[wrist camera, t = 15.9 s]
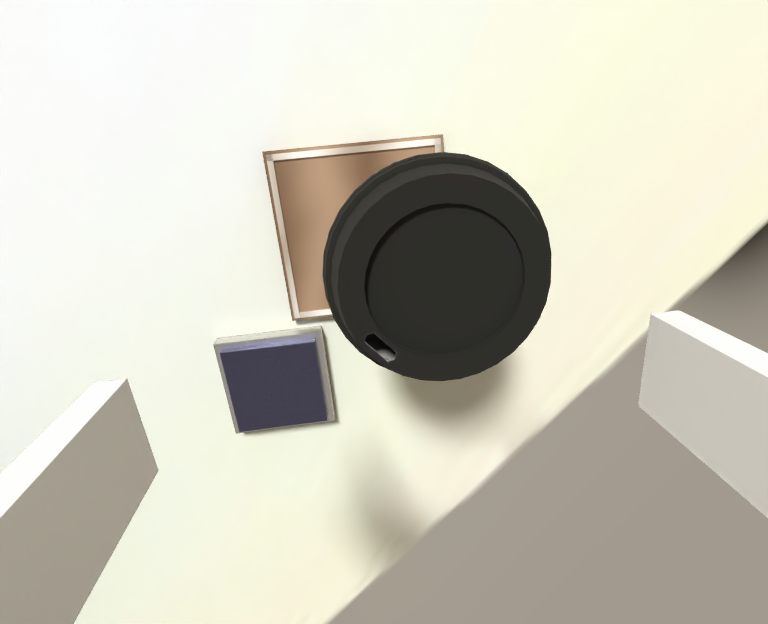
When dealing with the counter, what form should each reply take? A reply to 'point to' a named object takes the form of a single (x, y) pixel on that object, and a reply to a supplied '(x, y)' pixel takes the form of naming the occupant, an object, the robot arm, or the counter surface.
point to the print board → (322, 205)
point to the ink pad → (276, 378)
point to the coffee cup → (437, 266)
